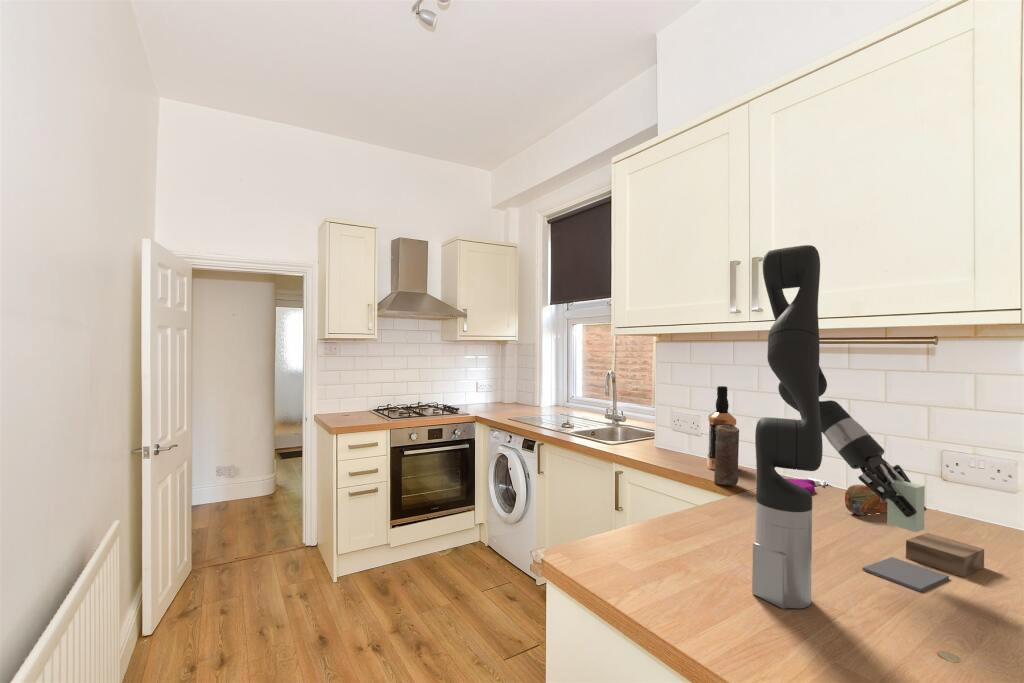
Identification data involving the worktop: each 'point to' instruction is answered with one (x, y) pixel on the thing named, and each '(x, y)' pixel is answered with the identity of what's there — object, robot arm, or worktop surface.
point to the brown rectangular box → (945, 554)
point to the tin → (864, 500)
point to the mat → (906, 574)
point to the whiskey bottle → (718, 422)
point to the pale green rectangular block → (916, 499)
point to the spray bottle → (807, 483)
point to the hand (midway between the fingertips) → (917, 513)
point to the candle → (726, 455)
